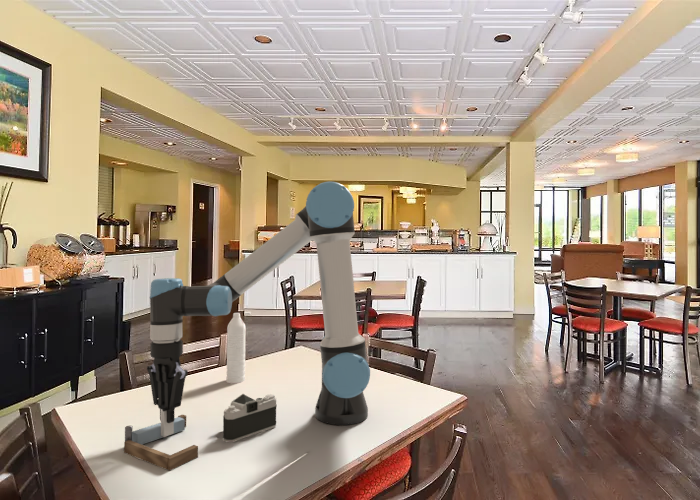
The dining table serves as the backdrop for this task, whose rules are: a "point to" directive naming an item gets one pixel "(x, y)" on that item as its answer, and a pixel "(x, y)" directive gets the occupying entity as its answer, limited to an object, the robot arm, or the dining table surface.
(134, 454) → the back rail
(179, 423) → the leg bar
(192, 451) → the left rail
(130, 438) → the pivot pin
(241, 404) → the camera
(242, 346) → the water bottle
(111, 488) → the dining table surface
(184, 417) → the stop block
